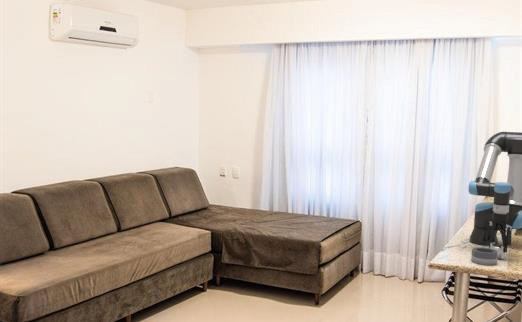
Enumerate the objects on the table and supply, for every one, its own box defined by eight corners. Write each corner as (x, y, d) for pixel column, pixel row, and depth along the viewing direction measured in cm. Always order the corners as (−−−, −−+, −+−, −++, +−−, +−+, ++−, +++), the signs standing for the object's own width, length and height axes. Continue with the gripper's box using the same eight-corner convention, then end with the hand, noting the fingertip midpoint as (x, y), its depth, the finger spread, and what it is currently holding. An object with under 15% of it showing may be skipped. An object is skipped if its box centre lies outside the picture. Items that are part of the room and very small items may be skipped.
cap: (495, 255, 305) (496, 243, 304) (506, 258, 300) (506, 246, 299) (488, 256, 302) (489, 244, 301) (498, 259, 297) (499, 247, 296)
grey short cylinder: (481, 257, 301) (482, 246, 300) (501, 263, 291) (502, 251, 290) (466, 260, 294) (466, 248, 294) (486, 266, 284) (487, 254, 284)
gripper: (480, 209, 304) (477, 252, 307) (512, 216, 288) (508, 262, 291) (489, 208, 308) (486, 251, 311) (521, 215, 292) (518, 260, 295)
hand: (497, 256), depth 301 cm, fingers closed on cap, 6 cm apart
